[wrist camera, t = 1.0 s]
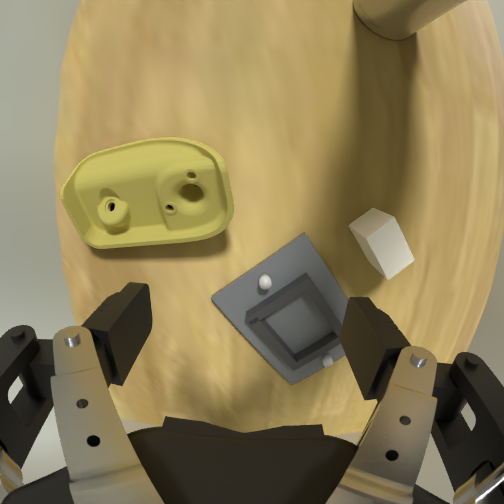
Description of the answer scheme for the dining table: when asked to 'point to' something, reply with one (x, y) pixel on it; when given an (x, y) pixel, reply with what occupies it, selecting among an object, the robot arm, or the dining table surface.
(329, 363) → the housing plate
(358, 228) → the block
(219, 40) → the dining table surface
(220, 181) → the plastic component
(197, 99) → the dining table surface
